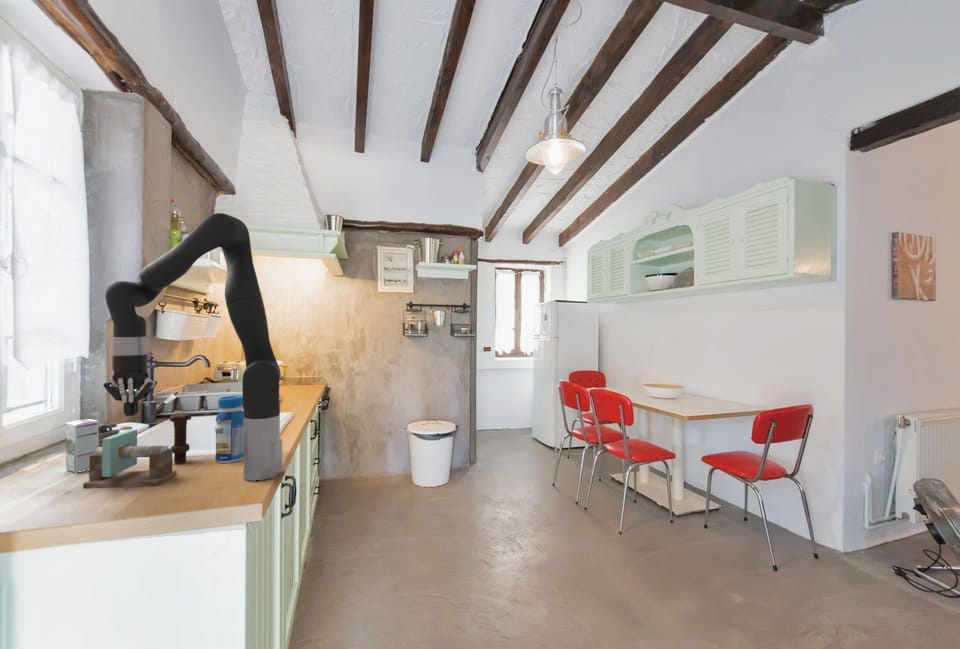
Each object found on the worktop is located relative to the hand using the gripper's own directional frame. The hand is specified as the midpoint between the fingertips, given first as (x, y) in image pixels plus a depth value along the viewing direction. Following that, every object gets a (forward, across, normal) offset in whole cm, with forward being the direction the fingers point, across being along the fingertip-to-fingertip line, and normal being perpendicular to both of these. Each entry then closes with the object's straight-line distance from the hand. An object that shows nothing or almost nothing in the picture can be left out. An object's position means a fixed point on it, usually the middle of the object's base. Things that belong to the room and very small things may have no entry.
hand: (131, 415), depth 117 cm
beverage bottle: (+19, -18, -17) cm, 31 cm away
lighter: (+18, +26, -26) cm, 41 cm away
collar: (+15, +3, 0) cm, 15 cm away
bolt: (+18, -4, -15) cm, 24 cm away
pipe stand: (+18, 0, 0) cm, 18 cm away
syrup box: (+18, +21, -11) cm, 30 cm away
